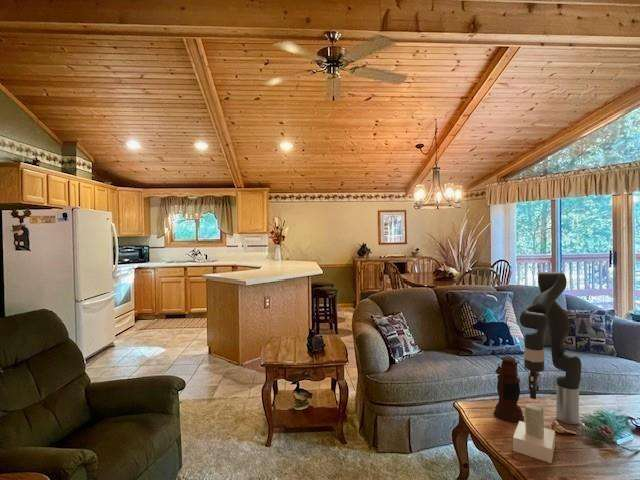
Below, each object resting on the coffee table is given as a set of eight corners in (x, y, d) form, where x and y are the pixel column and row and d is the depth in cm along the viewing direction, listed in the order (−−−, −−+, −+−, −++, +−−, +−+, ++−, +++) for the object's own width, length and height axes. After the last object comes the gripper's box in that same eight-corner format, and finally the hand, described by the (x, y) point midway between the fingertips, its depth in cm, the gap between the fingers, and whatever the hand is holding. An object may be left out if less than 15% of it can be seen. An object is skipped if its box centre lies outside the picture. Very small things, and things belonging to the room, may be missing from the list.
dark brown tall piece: (513, 427, 172) (512, 366, 171) (486, 415, 184) (485, 357, 183) (531, 416, 182) (531, 358, 181) (504, 405, 193) (504, 350, 192)
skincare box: (544, 435, 155) (544, 407, 155) (540, 439, 153) (540, 411, 152) (528, 429, 160) (528, 402, 160) (524, 433, 157) (524, 405, 157)
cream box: (519, 433, 167) (519, 420, 167) (555, 444, 159) (555, 430, 159) (513, 450, 155) (512, 437, 155) (551, 463, 146) (551, 448, 146)
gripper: (526, 351, 163) (527, 386, 164) (521, 361, 152) (522, 399, 152) (546, 354, 159) (546, 390, 159) (542, 365, 147) (542, 403, 148)
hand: (534, 394), depth 156 cm, fingers open, 8 cm apart
